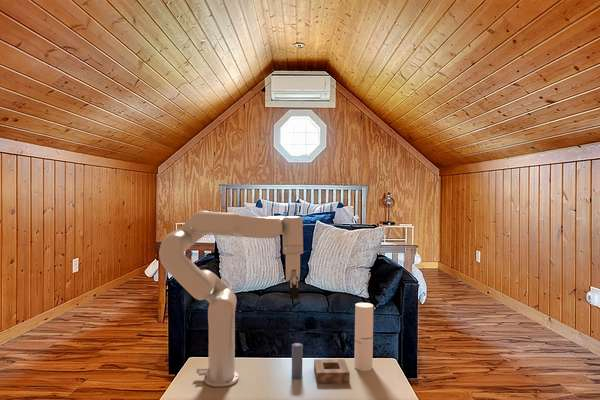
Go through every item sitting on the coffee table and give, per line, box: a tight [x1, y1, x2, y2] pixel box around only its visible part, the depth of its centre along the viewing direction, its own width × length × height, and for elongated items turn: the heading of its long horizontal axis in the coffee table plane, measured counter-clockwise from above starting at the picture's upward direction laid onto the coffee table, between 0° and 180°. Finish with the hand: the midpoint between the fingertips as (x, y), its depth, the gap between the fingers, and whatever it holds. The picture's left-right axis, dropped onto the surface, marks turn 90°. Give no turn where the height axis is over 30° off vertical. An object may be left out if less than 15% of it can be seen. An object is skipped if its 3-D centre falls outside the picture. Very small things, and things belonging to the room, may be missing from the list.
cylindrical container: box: [353, 302, 374, 372], centre depth 168 cm, size 7×7×25 cm
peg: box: [291, 342, 304, 380], centre depth 158 cm, size 4×4×12 cm
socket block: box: [313, 358, 351, 385], centre depth 159 cm, size 12×12×4 cm
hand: (293, 295), depth 156 cm, fingers open, 9 cm apart
